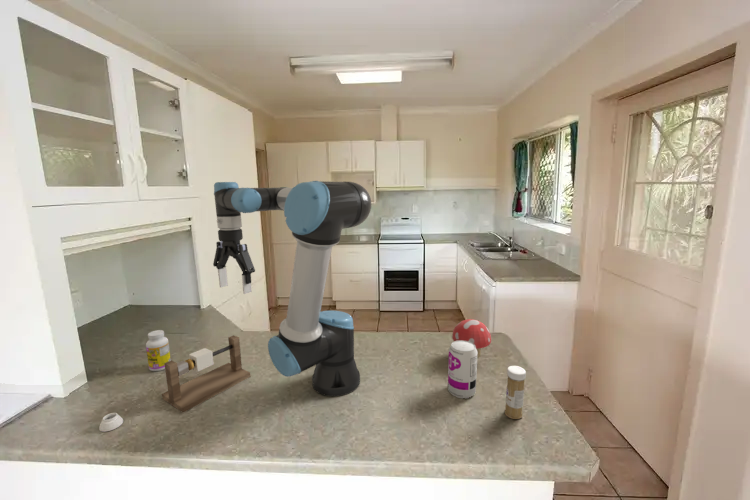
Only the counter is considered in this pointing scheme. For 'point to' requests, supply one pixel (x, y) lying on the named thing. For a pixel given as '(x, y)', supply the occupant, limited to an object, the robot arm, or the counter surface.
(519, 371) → the sprinkles bottle
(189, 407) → the brown stand with rod
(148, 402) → the counter surface
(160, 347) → the supplement bottle
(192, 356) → the sleeve
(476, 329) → the decorative mushroom
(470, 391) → the supplement can
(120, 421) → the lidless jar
